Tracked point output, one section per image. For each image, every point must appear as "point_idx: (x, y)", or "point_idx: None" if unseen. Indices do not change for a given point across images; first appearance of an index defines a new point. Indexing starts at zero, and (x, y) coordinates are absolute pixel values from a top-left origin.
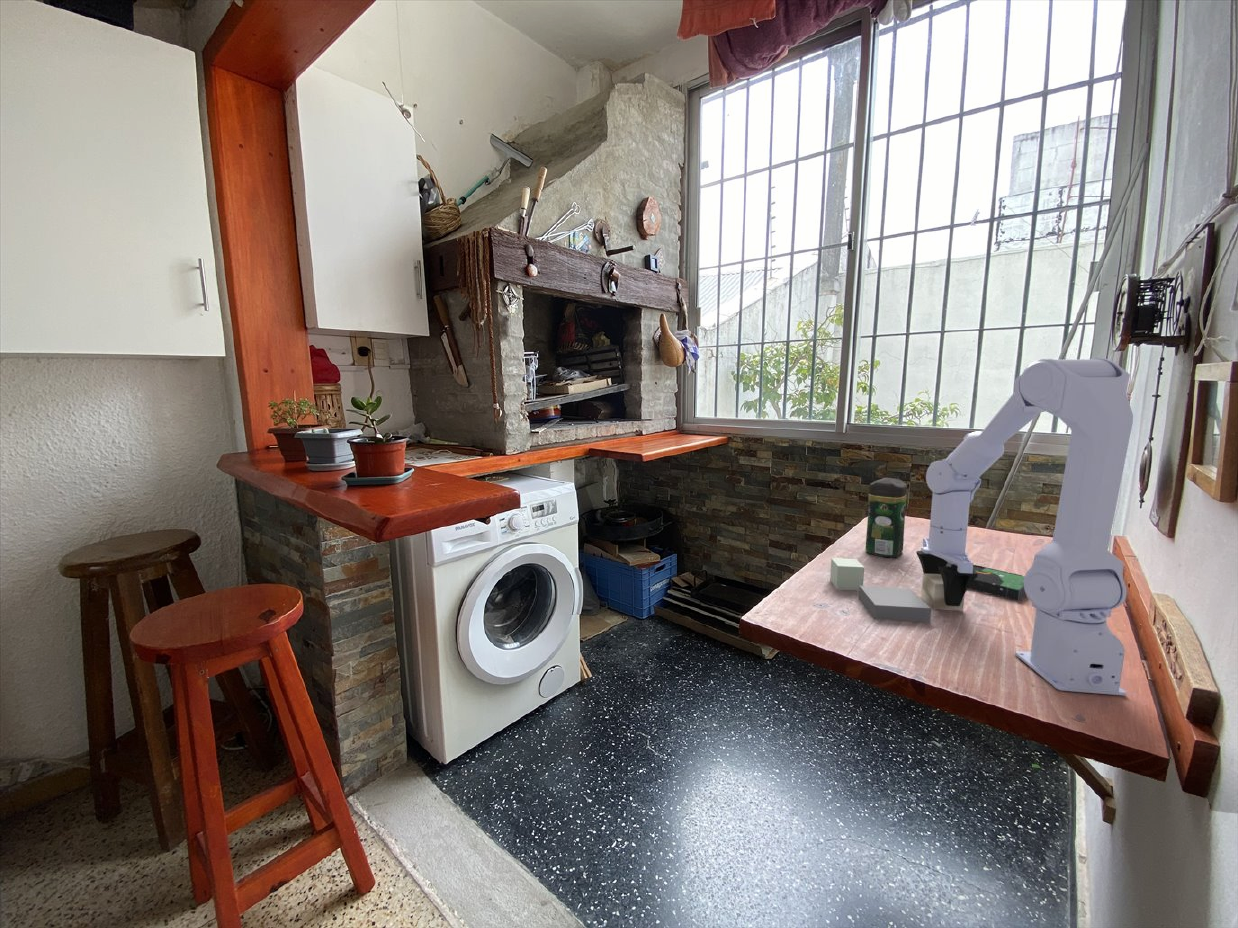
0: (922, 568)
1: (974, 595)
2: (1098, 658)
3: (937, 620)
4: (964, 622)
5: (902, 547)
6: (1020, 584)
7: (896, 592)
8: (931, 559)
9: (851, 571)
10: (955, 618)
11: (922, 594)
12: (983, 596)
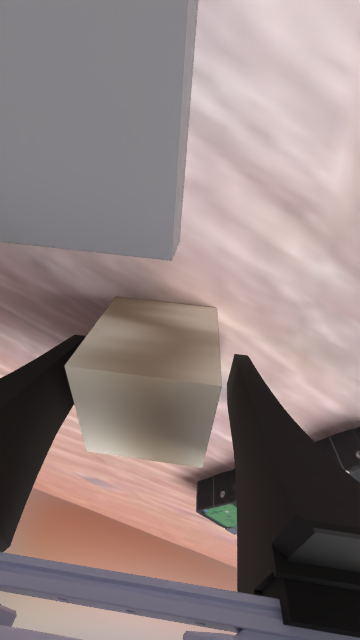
0: (291, 417)
1: (230, 440)
2: None
3: (9, 257)
4: (30, 330)
5: None
6: (232, 526)
7: (81, 126)
8: (260, 512)
9: None
10: (52, 322)
11: (207, 315)
12: (222, 451)
